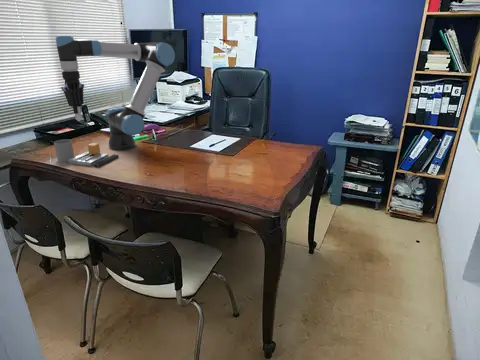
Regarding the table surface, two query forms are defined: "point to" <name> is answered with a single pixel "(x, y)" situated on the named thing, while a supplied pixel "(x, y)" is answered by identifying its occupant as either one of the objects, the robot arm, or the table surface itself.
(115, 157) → the black bar
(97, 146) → the tan wooden block
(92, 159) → the panel
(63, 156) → the cup
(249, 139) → the table surface
